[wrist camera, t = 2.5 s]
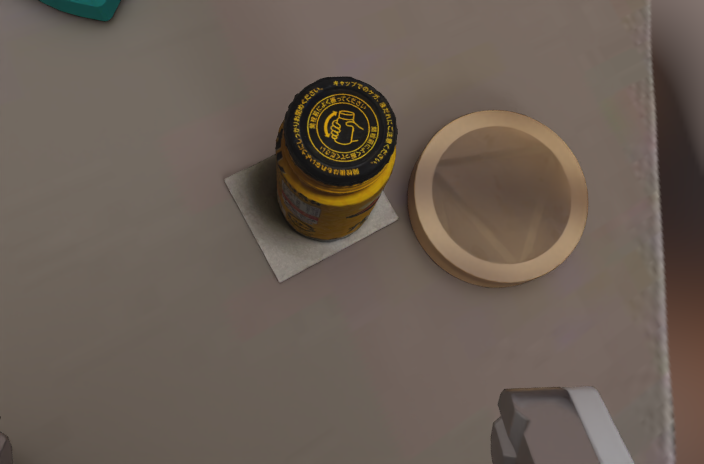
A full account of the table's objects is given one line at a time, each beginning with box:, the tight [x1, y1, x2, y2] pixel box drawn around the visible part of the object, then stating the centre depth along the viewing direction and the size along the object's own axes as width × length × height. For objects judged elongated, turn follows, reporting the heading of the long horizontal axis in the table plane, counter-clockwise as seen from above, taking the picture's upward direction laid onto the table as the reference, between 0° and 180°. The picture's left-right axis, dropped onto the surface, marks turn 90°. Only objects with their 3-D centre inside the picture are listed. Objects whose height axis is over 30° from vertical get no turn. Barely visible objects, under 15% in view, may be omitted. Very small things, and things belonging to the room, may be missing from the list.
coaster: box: [407, 110, 588, 288], centre depth 41 cm, size 11×11×2 cm
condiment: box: [224, 77, 399, 282], centre depth 35 cm, size 7×8×12 cm
